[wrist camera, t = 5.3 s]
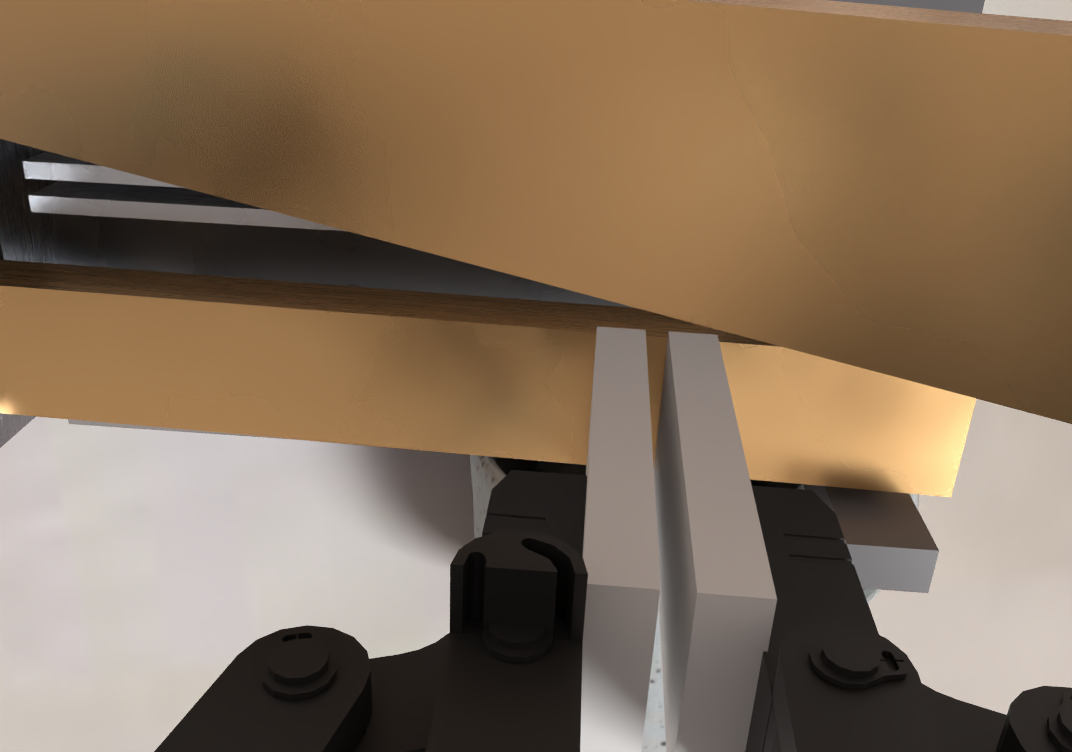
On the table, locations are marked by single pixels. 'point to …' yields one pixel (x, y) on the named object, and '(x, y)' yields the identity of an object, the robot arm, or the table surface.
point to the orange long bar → (432, 374)
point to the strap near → (623, 153)
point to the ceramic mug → (654, 739)
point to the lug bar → (879, 516)
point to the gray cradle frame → (207, 240)
